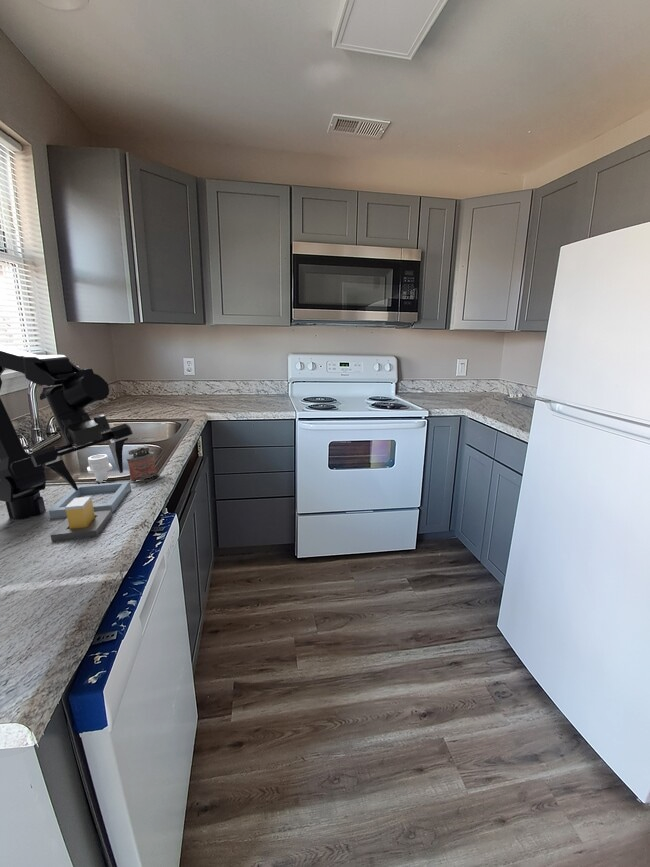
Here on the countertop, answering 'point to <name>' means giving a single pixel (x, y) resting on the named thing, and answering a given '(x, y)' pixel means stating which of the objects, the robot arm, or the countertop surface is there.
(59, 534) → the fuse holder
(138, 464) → the lighter
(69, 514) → the yellow and white block
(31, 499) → the robot arm
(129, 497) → the countertop surface
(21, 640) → the countertop surface
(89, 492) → the parts tray
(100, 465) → the pipe fitting
